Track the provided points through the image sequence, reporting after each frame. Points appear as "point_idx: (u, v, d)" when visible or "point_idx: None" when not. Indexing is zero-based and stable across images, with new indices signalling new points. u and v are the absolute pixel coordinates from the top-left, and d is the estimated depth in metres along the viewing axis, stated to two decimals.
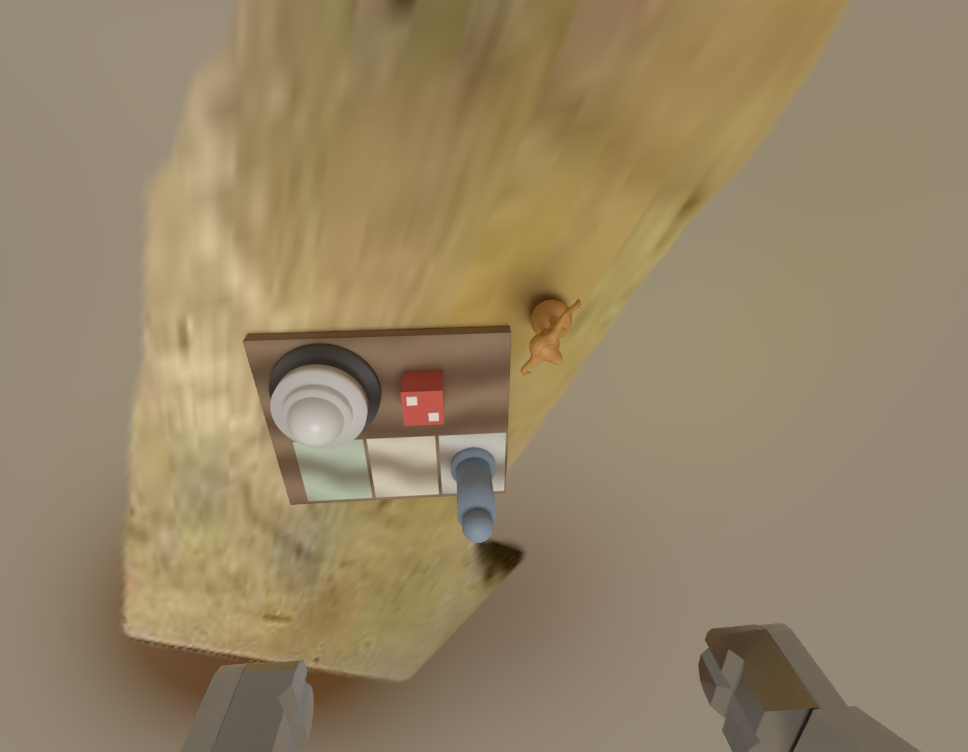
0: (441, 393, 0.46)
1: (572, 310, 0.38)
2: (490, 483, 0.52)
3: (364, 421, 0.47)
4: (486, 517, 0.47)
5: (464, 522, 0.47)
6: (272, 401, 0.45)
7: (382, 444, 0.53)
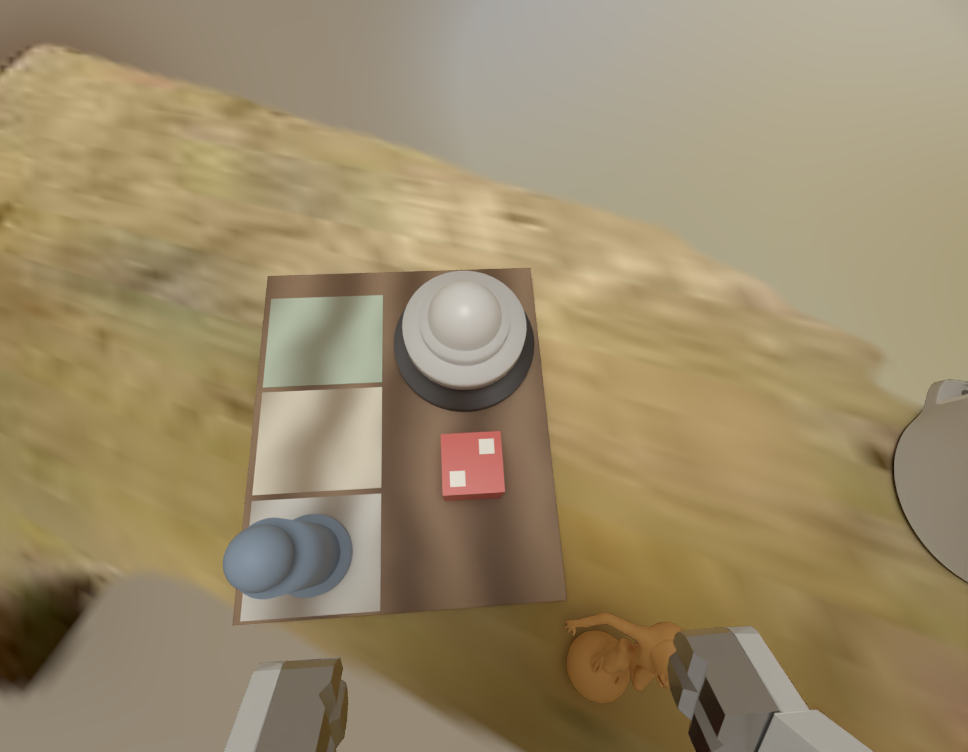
0: (500, 490, 0.30)
1: None
2: (308, 585, 0.28)
3: (448, 379, 0.33)
4: (284, 574, 0.23)
5: (277, 528, 0.24)
6: (481, 275, 0.36)
7: (370, 409, 0.36)
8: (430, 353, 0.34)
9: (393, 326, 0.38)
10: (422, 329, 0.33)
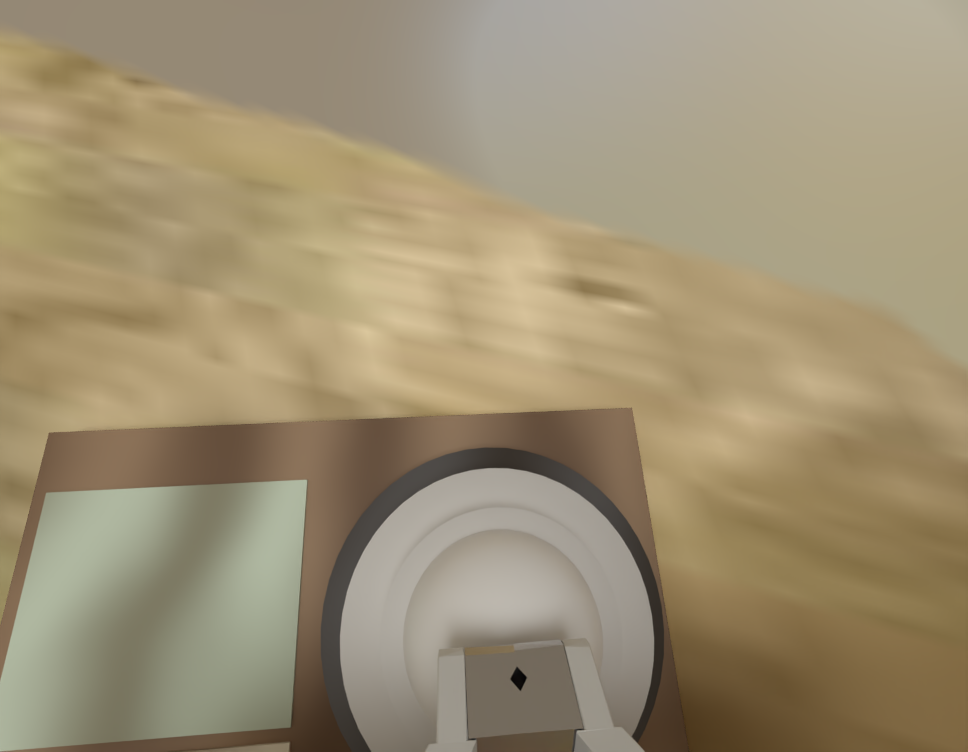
0: None
1: None
2: None
3: None
4: None
5: None
6: (537, 479, 0.15)
7: None
8: None
9: (327, 562, 0.16)
10: (388, 678, 0.12)
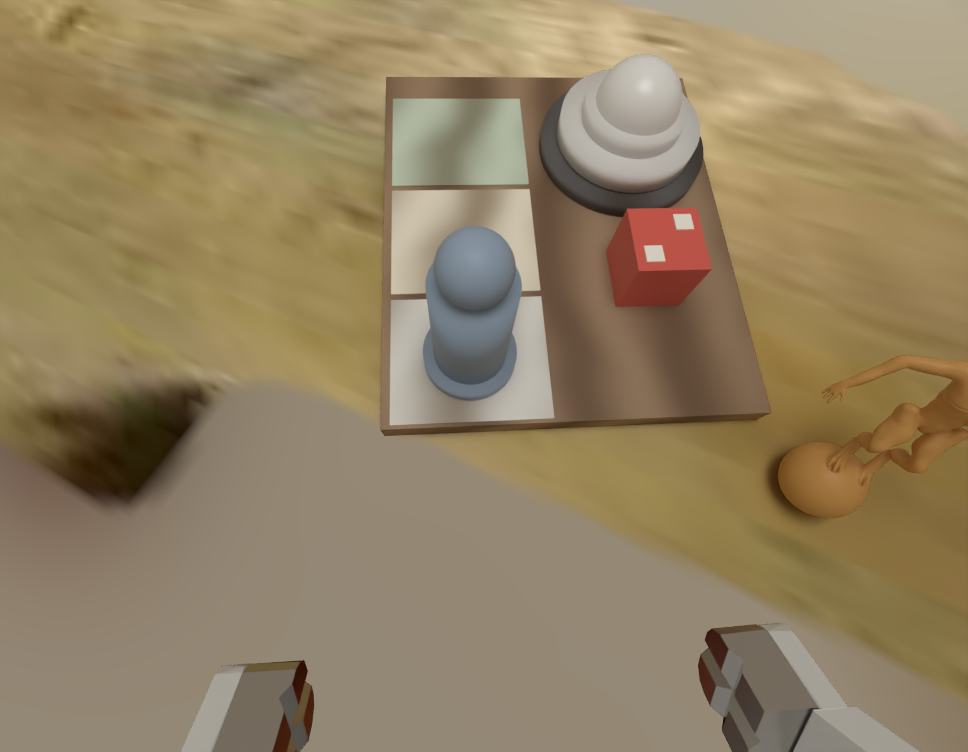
0: (705, 267, 0.25)
1: None
2: (495, 355, 0.23)
3: (620, 171, 0.29)
4: (510, 285, 0.18)
5: None
6: None
7: (519, 210, 0.31)
8: (596, 146, 0.30)
9: (534, 130, 0.33)
10: (592, 113, 0.29)
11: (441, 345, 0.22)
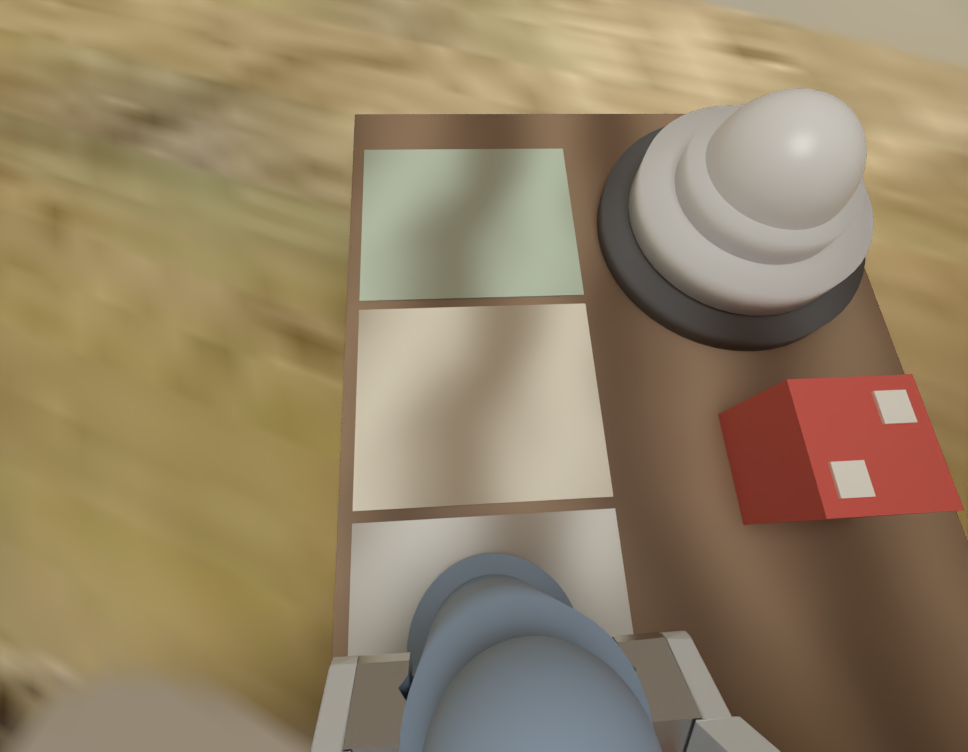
0: (951, 506, 0.13)
1: None
2: None
3: (750, 289, 0.17)
4: None
5: (592, 655, 0.07)
6: None
7: (569, 343, 0.19)
8: (705, 241, 0.17)
9: (588, 200, 0.21)
10: (702, 189, 0.17)
11: None
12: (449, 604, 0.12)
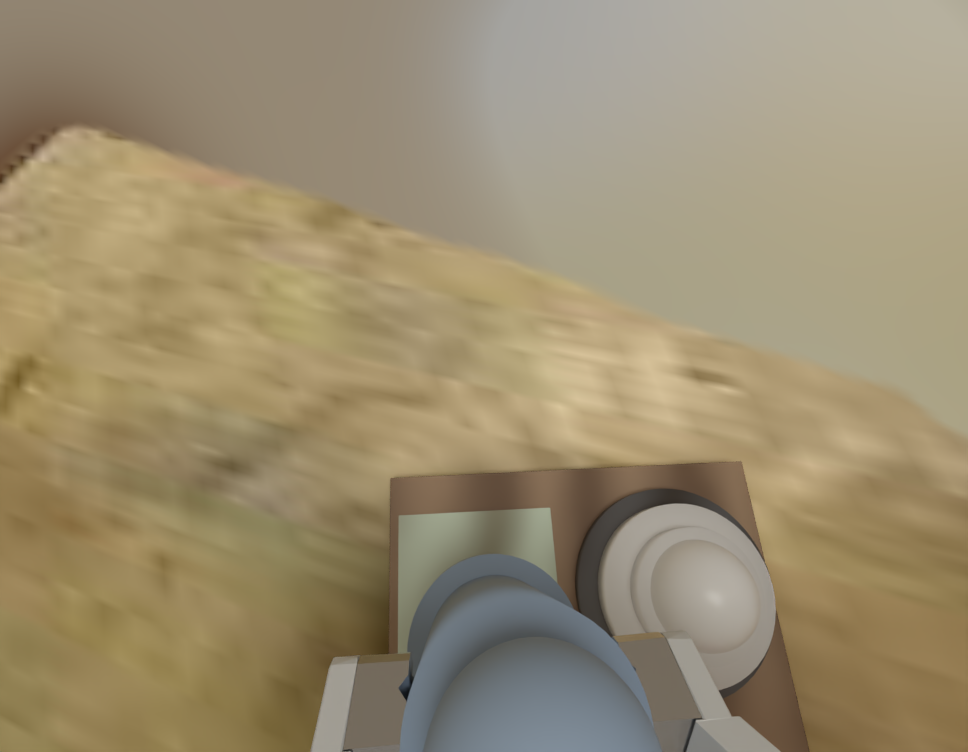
0: None
1: None
2: None
3: None
4: None
5: (593, 656, 0.07)
6: (702, 510, 0.26)
7: None
8: None
9: (569, 557, 0.28)
10: (646, 616, 0.23)
11: None
12: (449, 605, 0.12)
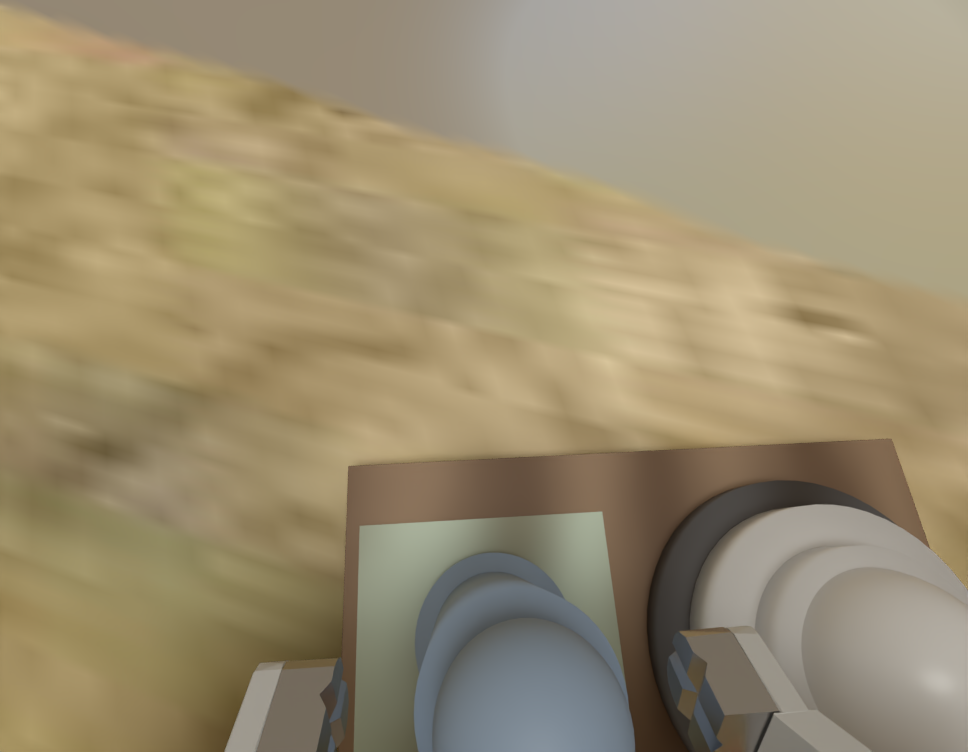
0: None
1: None
2: None
3: None
4: None
5: (573, 633, 0.08)
6: (862, 515, 0.16)
7: None
8: None
9: (635, 592, 0.17)
10: None
11: None
12: (454, 597, 0.13)
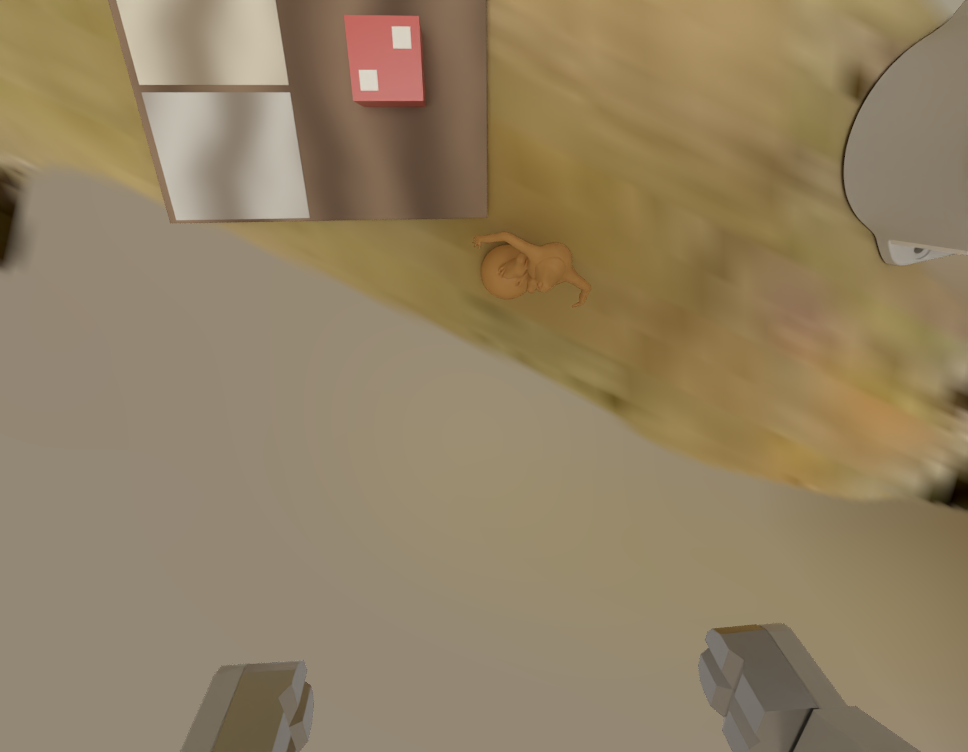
0: (417, 98, 0.27)
1: (585, 296, 0.30)
2: None
3: None
4: None
5: None
6: None
7: None
8: None
9: None
10: None
11: None
12: None
